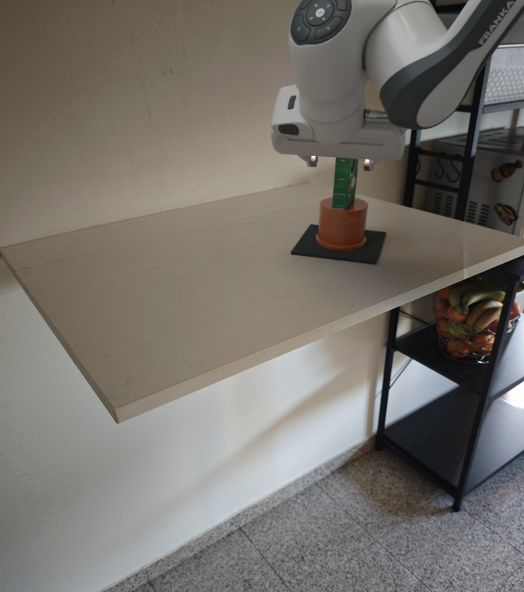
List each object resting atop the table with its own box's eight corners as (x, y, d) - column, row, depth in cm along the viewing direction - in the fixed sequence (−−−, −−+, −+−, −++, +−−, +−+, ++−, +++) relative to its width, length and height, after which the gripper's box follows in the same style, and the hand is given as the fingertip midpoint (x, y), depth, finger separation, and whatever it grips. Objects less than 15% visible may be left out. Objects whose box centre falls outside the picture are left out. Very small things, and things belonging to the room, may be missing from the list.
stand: (369, 235, 100) (373, 198, 96) (361, 253, 93) (366, 214, 89) (321, 230, 103) (323, 193, 99) (310, 247, 95) (312, 208, 91)
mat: (386, 234, 102) (386, 231, 102) (376, 264, 90) (376, 262, 89) (310, 226, 107) (310, 223, 106) (290, 254, 94) (290, 251, 94)
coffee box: (341, 196, 97) (347, 123, 90) (355, 198, 96) (363, 124, 89) (330, 208, 91) (336, 131, 84) (346, 210, 90) (352, 132, 83)
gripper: (413, 92, 68) (407, 152, 81) (269, 87, 73) (286, 145, 86) (405, 133, 67) (401, 187, 80) (260, 125, 72) (279, 177, 85)
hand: (340, 165), depth 83 cm, fingers open, 8 cm apart
